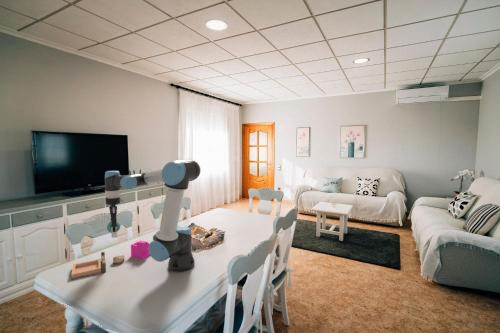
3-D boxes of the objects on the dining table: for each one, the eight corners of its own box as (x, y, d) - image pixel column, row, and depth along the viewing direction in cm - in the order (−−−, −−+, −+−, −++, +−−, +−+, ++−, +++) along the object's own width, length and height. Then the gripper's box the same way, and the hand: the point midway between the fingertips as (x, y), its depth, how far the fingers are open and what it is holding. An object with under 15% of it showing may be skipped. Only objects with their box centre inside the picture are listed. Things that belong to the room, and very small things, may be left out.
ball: (120, 233, 143) (120, 221, 143) (107, 235, 140) (106, 223, 139) (120, 229, 149) (119, 218, 149) (106, 231, 146) (106, 220, 145)
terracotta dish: (101, 272, 135) (101, 268, 135) (71, 279, 128) (71, 274, 127) (100, 262, 146) (100, 258, 146) (73, 268, 139) (73, 264, 139)
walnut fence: (106, 272, 135) (105, 263, 135) (102, 273, 134) (101, 264, 134) (104, 259, 150) (104, 251, 149) (101, 260, 149) (101, 252, 148)
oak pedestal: (124, 262, 146) (124, 258, 146) (113, 265, 143) (113, 260, 143) (123, 258, 151) (123, 254, 151) (112, 261, 148) (112, 256, 148)
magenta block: (144, 259, 152) (143, 243, 151) (131, 256, 155) (130, 240, 154) (157, 251, 163) (156, 236, 162) (144, 249, 166) (144, 234, 165)
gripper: (121, 199, 136) (122, 239, 138) (119, 193, 153) (119, 228, 155) (105, 201, 132) (107, 241, 134) (105, 194, 149) (106, 230, 151)
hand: (113, 234), depth 145 cm, fingers closed on ball, 7 cm apart
